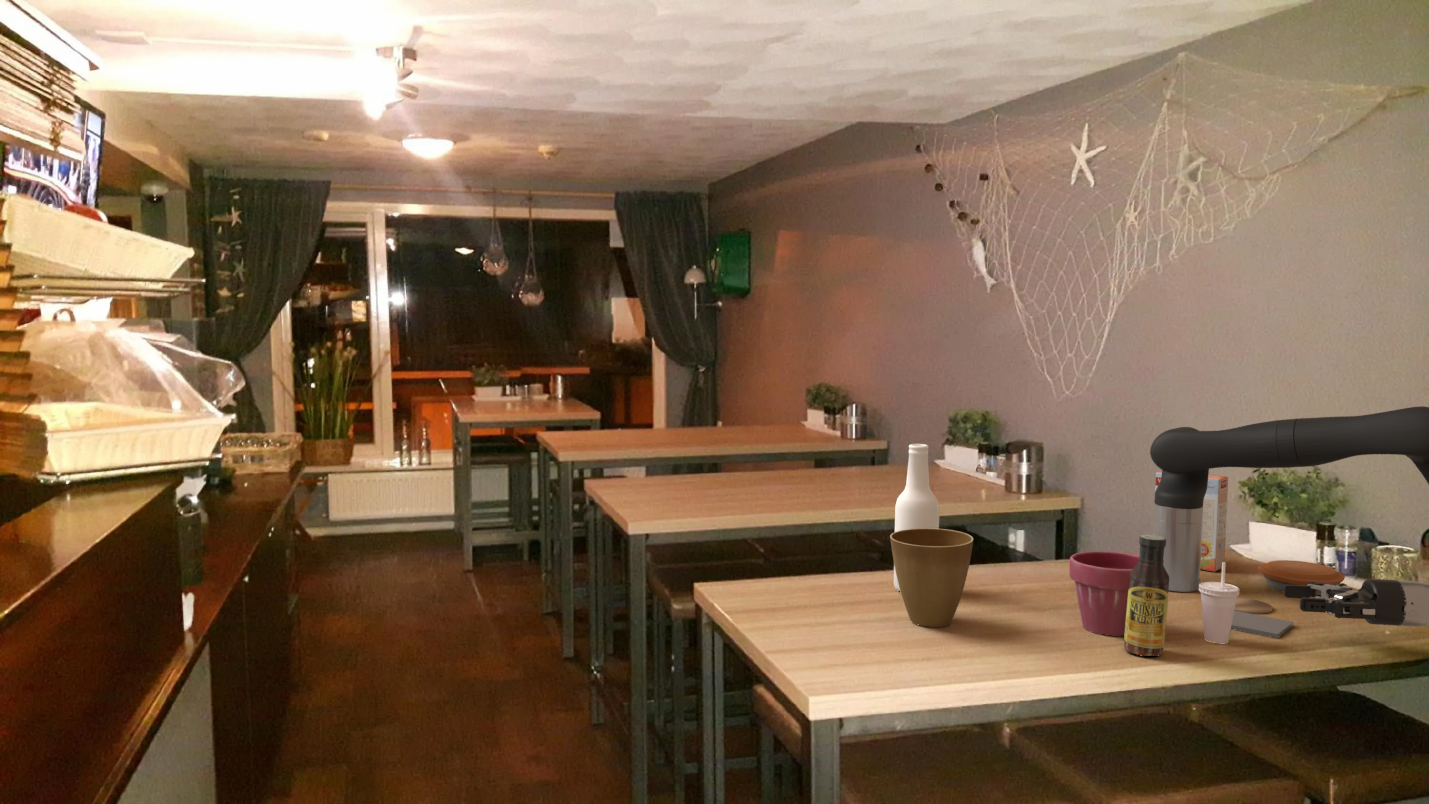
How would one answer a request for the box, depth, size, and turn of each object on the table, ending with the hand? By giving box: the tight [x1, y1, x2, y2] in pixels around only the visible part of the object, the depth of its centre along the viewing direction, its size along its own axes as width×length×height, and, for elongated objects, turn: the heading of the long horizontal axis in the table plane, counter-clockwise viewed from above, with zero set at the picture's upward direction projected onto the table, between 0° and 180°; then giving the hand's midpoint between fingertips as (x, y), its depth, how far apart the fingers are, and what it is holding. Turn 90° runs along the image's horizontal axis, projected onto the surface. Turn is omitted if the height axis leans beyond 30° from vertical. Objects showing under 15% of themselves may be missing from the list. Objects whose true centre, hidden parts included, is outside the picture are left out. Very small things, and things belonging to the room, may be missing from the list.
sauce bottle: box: [1123, 534, 1169, 657], centre depth 171 cm, size 7×6×20 cm
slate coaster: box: [1231, 611, 1294, 639], centre depth 187 cm, size 10×10×1 cm
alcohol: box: [893, 443, 940, 591], centre depth 208 cm, size 9×9×30 cm
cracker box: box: [1154, 470, 1229, 573], centre depth 231 cm, size 14×6×21 cm, turn 44°
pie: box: [1257, 559, 1346, 593], centre depth 213 cm, size 15×16×5 cm
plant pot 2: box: [1068, 550, 1140, 636], centre depth 184 cm, size 14×14×13 cm
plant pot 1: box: [889, 528, 974, 628], centre depth 188 cm, size 15×15×16 cm
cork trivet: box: [1234, 597, 1273, 615], centre depth 199 cm, size 9×9×1 cm
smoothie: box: [1198, 561, 1240, 644], centre depth 178 cm, size 6×6×14 cm
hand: (1292, 597), depth 175 cm, fingers open, 8 cm apart
